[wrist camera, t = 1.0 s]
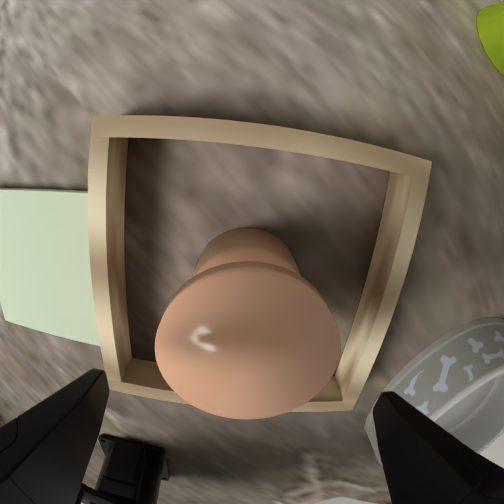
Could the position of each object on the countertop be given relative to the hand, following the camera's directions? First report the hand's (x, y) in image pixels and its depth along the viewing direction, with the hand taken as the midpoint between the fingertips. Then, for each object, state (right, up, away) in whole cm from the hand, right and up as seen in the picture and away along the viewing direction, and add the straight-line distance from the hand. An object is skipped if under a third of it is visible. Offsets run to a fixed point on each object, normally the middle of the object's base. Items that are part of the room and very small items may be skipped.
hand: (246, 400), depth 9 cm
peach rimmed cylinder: (0, +3, +8) cm, 9 cm away
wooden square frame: (0, +3, +8) cm, 9 cm away
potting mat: (-14, +4, +8) cm, 16 cm away
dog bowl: (+19, -9, +14) cm, 25 cm away
